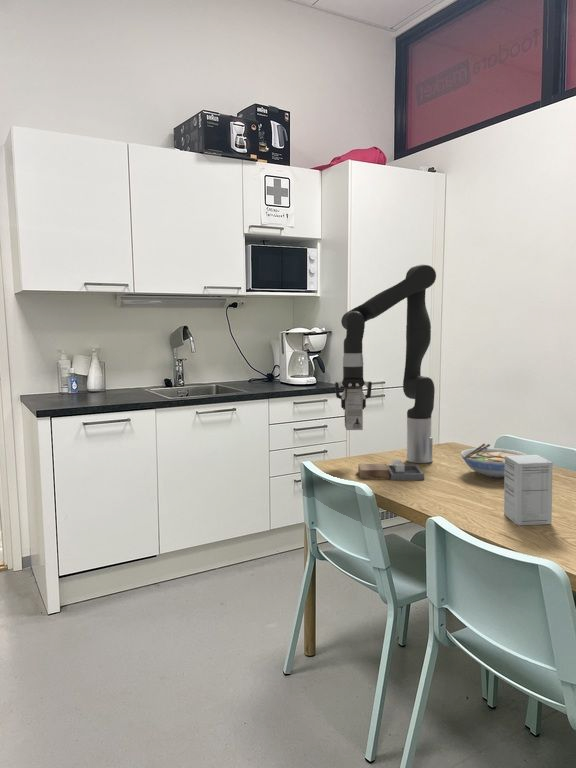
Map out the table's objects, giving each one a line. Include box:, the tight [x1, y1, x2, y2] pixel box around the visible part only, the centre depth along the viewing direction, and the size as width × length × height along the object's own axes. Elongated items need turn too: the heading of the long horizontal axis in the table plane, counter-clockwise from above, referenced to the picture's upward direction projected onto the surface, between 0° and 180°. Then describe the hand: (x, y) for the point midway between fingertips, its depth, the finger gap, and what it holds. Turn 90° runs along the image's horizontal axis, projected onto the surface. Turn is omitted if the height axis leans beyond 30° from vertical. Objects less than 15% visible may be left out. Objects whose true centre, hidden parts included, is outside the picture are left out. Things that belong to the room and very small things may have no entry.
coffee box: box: [343, 386, 364, 431], centre depth 215 cm, size 9×6×16 cm
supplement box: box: [503, 454, 554, 526], centre depth 154 cm, size 10×9×17 cm
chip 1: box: [391, 459, 403, 473], centre depth 204 cm, size 4×4×3 cm
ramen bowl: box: [460, 443, 528, 479], centre depth 200 cm, size 25×23×8 cm
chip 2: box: [394, 462, 405, 474], centre depth 200 cm, size 4×4×3 cm
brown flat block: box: [357, 463, 390, 479], centre depth 203 cm, size 10×9×3 cm
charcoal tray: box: [386, 464, 425, 481], centre depth 202 cm, size 11×13×2 cm
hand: (353, 409), depth 215 cm, fingers closed on coffee box, 6 cm apart
